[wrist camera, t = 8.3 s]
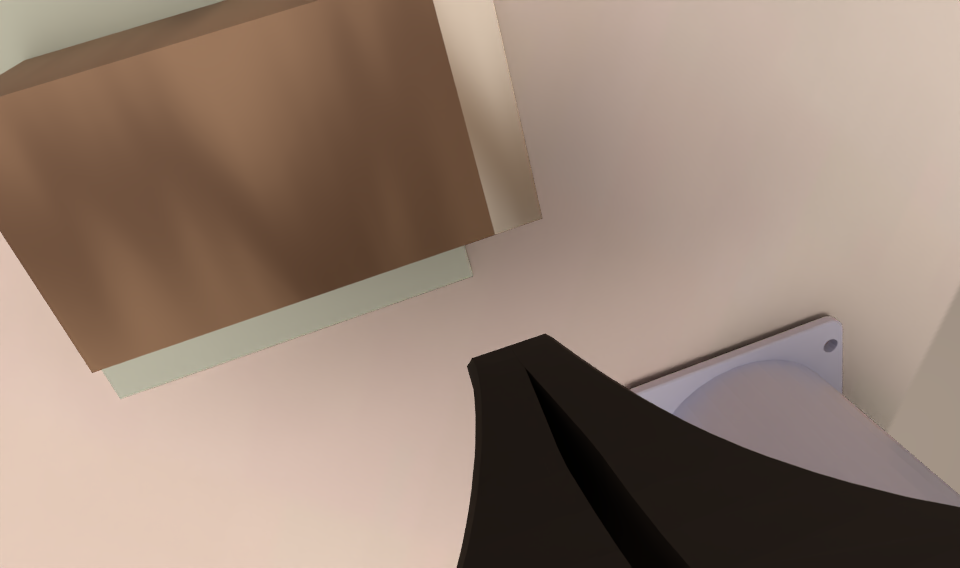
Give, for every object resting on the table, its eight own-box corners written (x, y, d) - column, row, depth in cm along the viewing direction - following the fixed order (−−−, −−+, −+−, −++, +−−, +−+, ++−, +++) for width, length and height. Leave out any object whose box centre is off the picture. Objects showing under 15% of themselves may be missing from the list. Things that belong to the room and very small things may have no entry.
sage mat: (470, 270, 21) (473, 276, 20) (122, 390, 20) (120, 399, 19) (323, -230, 15) (324, -233, 14) (-183, -92, 14) (-195, -92, 14)
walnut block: (542, 218, 14) (92, 373, 14) (480, 147, 19) (136, 261, 18) (481, -50, 12) (-74, 119, 11) (427, -60, 16) (24, 60, 15)
